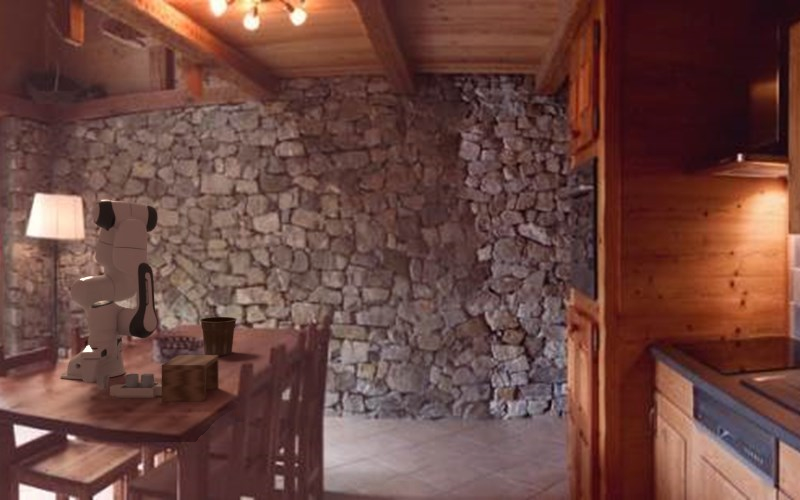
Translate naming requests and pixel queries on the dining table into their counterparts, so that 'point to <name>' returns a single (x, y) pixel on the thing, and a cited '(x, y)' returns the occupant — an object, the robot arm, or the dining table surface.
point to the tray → (136, 391)
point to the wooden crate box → (189, 377)
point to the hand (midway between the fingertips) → (103, 388)
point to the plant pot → (218, 335)
